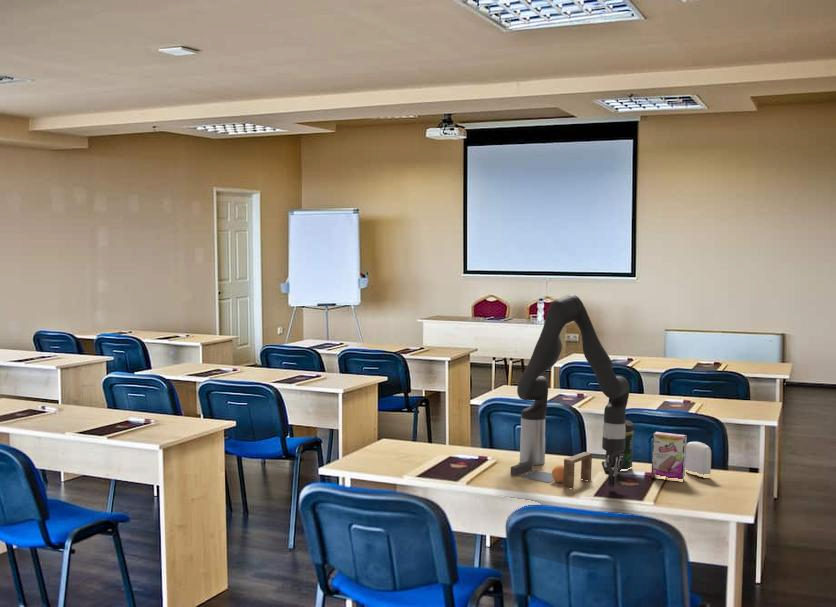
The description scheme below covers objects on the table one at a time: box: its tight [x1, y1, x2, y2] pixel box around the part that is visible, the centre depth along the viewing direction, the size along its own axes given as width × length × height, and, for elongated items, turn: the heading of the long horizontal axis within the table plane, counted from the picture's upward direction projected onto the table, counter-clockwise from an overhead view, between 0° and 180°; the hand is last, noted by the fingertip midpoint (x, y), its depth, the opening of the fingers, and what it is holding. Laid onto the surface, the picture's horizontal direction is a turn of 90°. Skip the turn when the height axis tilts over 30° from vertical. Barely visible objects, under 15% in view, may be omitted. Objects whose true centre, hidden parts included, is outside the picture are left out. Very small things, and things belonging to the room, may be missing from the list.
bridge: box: [562, 451, 593, 489], centre depth 299 cm, size 3×15×10 cm, turn 142°
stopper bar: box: [509, 461, 533, 477], centre depth 313 cm, size 12×2×3 cm, turn 142°
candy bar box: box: [651, 431, 688, 479], centre depth 308 cm, size 11×5×16 cm, turn 65°
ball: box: [551, 464, 564, 484], centre depth 300 cm, size 6×6×6 cm
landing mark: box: [518, 470, 556, 484], centre depth 308 cm, size 12×12×1 cm
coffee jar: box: [621, 419, 635, 469], centre depth 321 cm, size 10×8×19 cm
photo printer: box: [685, 441, 712, 475], centre depth 315 cm, size 10×4×12 cm, turn 26°
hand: (612, 486), depth 291 cm, fingers closed
